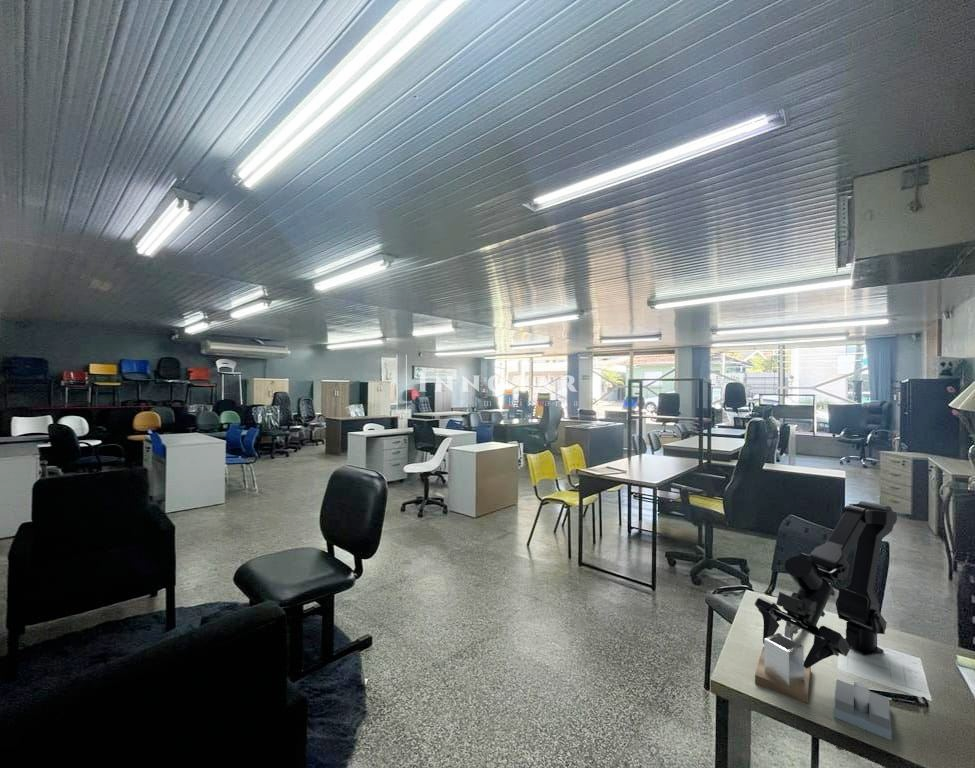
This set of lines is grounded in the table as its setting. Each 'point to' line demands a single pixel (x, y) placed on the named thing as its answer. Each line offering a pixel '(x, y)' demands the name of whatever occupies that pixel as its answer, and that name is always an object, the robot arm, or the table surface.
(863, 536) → the robot arm
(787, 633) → the caliper
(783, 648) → the steel sleeve
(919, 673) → the table surface
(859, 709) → the vise
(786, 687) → the walnut board
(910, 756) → the table surface
